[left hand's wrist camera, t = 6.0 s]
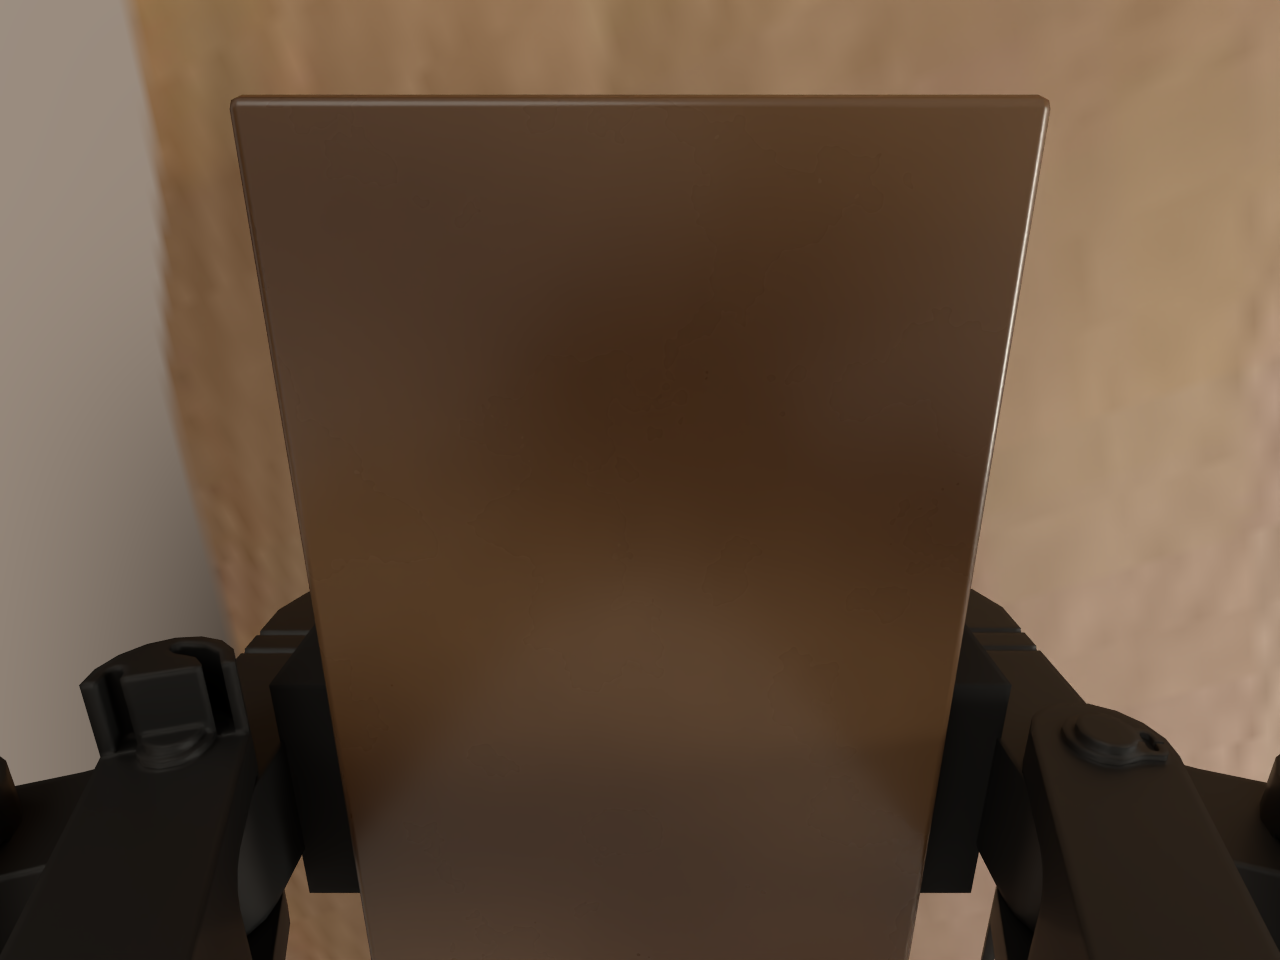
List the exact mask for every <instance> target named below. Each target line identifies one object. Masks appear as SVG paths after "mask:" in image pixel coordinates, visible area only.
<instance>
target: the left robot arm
mask: <svg viewBox="0 0 1280 960" xmlns="http://www.w3.org/2000/svg"><path fill="white" fill-rule="evenodd" d="M79 686H80V690H81V693H82V696H83V700H84V703H85V706H86V710H87V713H88V716H89V720H90V723H91V727H92V730H93V733H94V737H95V740H96V743H97V747H98V750H99V753H100V759H99V761H98V763H97V765H96V767H95V769H93V770H90V771H86V772H82V773H77V774H72V775H67V776H62V777H57V778H53V779H48V780H43V781H38V782H33V783H28V784H23V785H18V786H15V785H14V782H13V779H12V777H11V774H10V771H9V768H8V765H7V762H6V760H4V759H3V758H2V757H0V960H285V957H286V950H287V942H288V935H289V927H290V919H289V911H288V904H287V900H286V895H285V890H284V889H285V887H286V885H287V883H288V881H289V879H290V877H291V875H292V873H293V871H294V869H295V867H296V865H297V863H298V861H299V859H300V857H301V855H302V856H303V861H304V866H305V871H306V876H307V881H308V886H309V892H310V893H360V888H359V882H358V876H357V870H356V864H355V858H354V852H353V846H352V840H351V834H350V828H349V822H348V816H347V810H346V804H345V798H344V792H343V786H342V780H341V774H340V768H339V762H338V756H337V750H336V744H335V738H334V732H333V726H332V720H331V714H330V708H329V702H328V696H327V690H326V684H325V678H324V672H323V666H322V660H321V654H320V648H319V642H318V636H317V630H316V624H315V618H314V612H313V606H312V600H311V594H310V592H307V593H306V594H304V595H302V596H301V597H299V598H298V599H296V600H294V601H293V602H291V603H289V604H288V605H286V606H284V607H283V608H281V609H279V610H278V611H277V612H276V614H275V615H274V616H273V617H272V618H271V619H270V621H269V622H268V623H267V624H266V625H265V626H264V627H263V629H262V630H261V631H260V635H257V636H256V637H255V638H254V639H253V640H252V641H251V643H250V644H249V645H248V646H247V647H246V648H245V653H241V654H240V655H239V656H238V658H237V659H236V658H235V653H234V649H233V648H231V647H230V646H229V645H227V644H226V643H225V642H223V641H222V640H217V639H212V638H207V637H182V638H173V639H168V640H164V641H159V642H155V643H150V644H146V645H143V646H141V647H138V648H136V649H133V650H131V651H128V652H125V653H123V654H120V655H118V656H116V657H115V658H113V659H111V660H110V661H108V662H106V663H105V664H103V665H101V666H100V667H98V668H96V669H95V670H94V671H93V672H92V673H91V674H90V675H89V676H88V677H87V678H86V679H85V680H84V681H83V682H82V683H81V684H80V685H79ZM979 852H980V854H981V856H982V858H983V860H984V862H985V864H986V866H987V868H988V870H989V872H990V874H991V876H992V878H993V880H994V882H995V884H996V890H995V895H994V900H993V904H992V909H991V914H990V919H989V923H988V928H987V933H986V938H985V942H984V947H983V952H982V956H981V960H994V959H995V960H1280V755H1278V756H1277V757H1276V759H1275V762H1274V764H1273V767H1272V770H1271V773H1270V776H1269V779H1268V782H1267V783H1265V782H1260V781H1255V780H1250V779H1246V778H1241V777H1236V776H1231V775H1226V774H1221V773H1216V772H1211V771H1206V770H1201V769H1197V768H1193V767H1189V766H1186V765H1184V764H1183V762H1182V760H1181V758H1180V756H1179V755H1178V754H1177V752H1176V751H1175V750H1174V749H1173V747H1172V746H1171V745H1170V744H1169V742H1168V741H1167V740H1166V739H1165V738H1164V737H1162V736H1161V735H1159V734H1158V733H1157V732H1155V731H1154V730H1152V729H1151V728H1150V727H1148V726H1147V725H1145V724H1144V723H1142V722H1140V721H1138V720H1135V719H1133V718H1131V717H1129V716H1126V715H1124V714H1122V713H1120V712H1118V711H1115V710H1111V709H1107V708H1103V707H1099V706H1095V705H1091V704H1086V703H1085V702H1084V700H1083V699H1082V698H1081V697H1080V696H1079V695H1078V694H1077V692H1076V691H1075V690H1074V689H1073V688H1072V687H1071V685H1070V684H1069V683H1068V682H1067V681H1066V680H1065V679H1064V677H1063V676H1062V675H1061V674H1060V673H1059V672H1058V671H1057V669H1056V668H1055V667H1054V666H1053V665H1052V664H1051V663H1050V661H1049V660H1048V659H1047V658H1046V657H1045V656H1044V654H1043V653H1042V652H1041V651H1037V650H1036V645H1035V644H1034V643H1033V642H1032V641H1031V640H1030V638H1029V637H1028V636H1027V635H1026V634H1025V633H1021V628H1020V627H1019V626H1018V625H1017V624H1016V622H1015V621H1014V620H1013V619H1012V618H1011V617H1010V615H1009V614H1008V613H1007V612H1006V611H1005V610H1004V609H1003V607H1001V606H999V605H998V604H996V603H994V602H993V601H991V600H989V599H988V598H986V597H984V596H983V595H981V594H979V593H978V592H976V591H974V590H973V589H970V595H969V601H968V607H967V613H966V619H965V625H964V631H963V637H962V643H961V649H960V655H959V661H958V667H957V673H956V679H955V685H954V691H953V697H952V703H951V709H950V715H949V721H948V727H947V733H946V739H945V745H944V751H943V757H942V763H941V769H940V775H939V781H938V787H937V793H936V799H935V805H934V811H933V817H932V823H931V829H930V835H929V841H928V847H927V853H926V859H925V865H924V871H923V877H922V883H921V889H920V893H971V889H972V884H973V879H974V874H975V869H976V864H977V859H978V854H979Z"/></svg>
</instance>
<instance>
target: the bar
mask: <svg viewBox="0 0 1280 960" xmlns="http://www.w3.org/2000/svg"><path fill="white" fill-rule="evenodd" d="M230 113H231V119H232V125H233V131H234V137H235V143H236V150H237V156H238V162H239V168H240V174H241V180H242V186H243V192H244V198H245V204H246V210H247V216H248V222H249V228H250V234H251V240H252V246H253V252H254V258H255V264H256V270H257V276H258V282H259V288H260V294H261V300H262V306H263V312H264V318H265V324H266V330H267V336H268V342H269V348H270V354H271V360H272V366H273V372H274V378H275V384H276V390H277V396H278V402H279V408H280V414H281V420H282V426H283V432H284V438H285V444H286V450H287V456H288V462H289V468H290V474H291V480H292V486H293V492H294V498H295V504H296V510H297V516H298V522H299V528H300V534H301V540H302V546H303V552H304V558H305V564H306V570H307V576H308V582H309V588H310V594H311V600H312V606H313V612H314V618H315V624H316V630H317V636H318V642H319V648H320V654H321V660H322V666H323V672H324V678H325V684H326V690H327V696H328V702H329V708H330V714H331V720H332V726H333V732H334V738H335V744H336V750H337V756H338V762H339V768H340V774H341V780H342V786H343V792H344V798H345V804H346V810H347V816H348V822H349V828H350V834H351V840H352V846H353V852H354V858H355V864H356V870H357V876H358V882H359V888H360V894H361V900H362V906H363V912H364V918H365V924H366V930H367V936H368V942H369V948H370V954H371V960H909V955H910V949H911V943H912V937H913V931H914V925H915V919H916V913H917V907H918V901H919V895H920V889H921V883H922V877H923V871H924V865H925V859H926V853H927V847H928V841H929V835H930V829H931V823H932V817H933V811H934V805H935V799H936V793H937V787H938V781H939V775H940V769H941V763H942V757H943V751H944V745H945V739H946V733H947V727H948V721H949V715H950V709H951V703H952V697H953V691H954V685H955V679H956V673H957V667H958V661H959V655H960V649H961V643H962V637H963V631H964V625H965V619H966V613H967V607H968V601H969V595H970V589H971V583H972V577H973V571H974V565H975V559H976V553H977V546H978V540H979V534H980V528H981V522H982V516H983V510H984V504H985V498H986V492H987V486H988V480H989V474H990V468H991V462H992V456H993V450H994V444H995V438H996V432H997V426H998V420H999V414H1000V408H1001V402H1002V396H1003V390H1004V384H1005V378H1006V372H1007V366H1008V360H1009V354H1010V348H1011V342H1012V336H1013V330H1014V324H1015V318H1016V312H1017V306H1018V300H1019V294H1020V288H1021V282H1022V276H1023V270H1024V264H1025V258H1026V252H1027V246H1028V240H1029V234H1030V228H1031V222H1032V216H1033V210H1034V204H1035V198H1036V192H1037V186H1038V180H1039V174H1040V168H1041V162H1042V156H1043V150H1044V144H1045V138H1046V132H1047V126H1048V120H1049V114H1050V103H1049V100H1048V99H1046V98H1044V97H1042V96H1040V95H241V96H238V97H236V98H234V99H233V100H231V104H230Z"/></svg>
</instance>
